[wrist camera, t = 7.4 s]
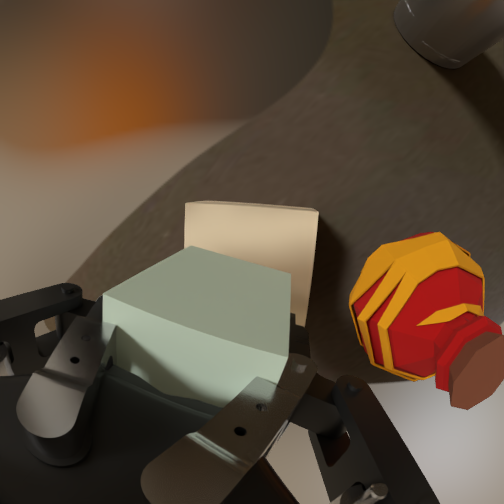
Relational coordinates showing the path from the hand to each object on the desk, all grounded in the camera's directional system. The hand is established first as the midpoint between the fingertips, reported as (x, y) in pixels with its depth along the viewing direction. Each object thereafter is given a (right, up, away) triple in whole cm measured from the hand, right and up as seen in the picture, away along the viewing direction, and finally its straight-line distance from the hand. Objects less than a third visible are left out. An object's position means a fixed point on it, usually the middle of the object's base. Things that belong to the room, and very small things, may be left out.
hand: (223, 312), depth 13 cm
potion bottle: (+14, +1, +10) cm, 17 cm away
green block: (0, 0, +1) cm, 1 cm away
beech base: (+2, +2, +11) cm, 11 cm away
